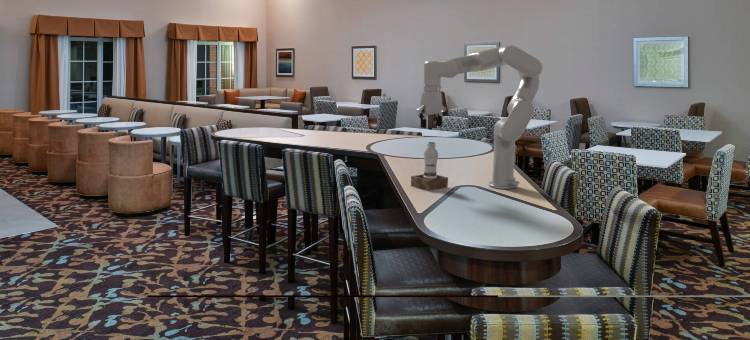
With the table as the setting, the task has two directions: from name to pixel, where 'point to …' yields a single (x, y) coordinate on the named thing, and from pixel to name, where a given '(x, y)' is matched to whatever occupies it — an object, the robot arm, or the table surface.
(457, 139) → the table surface
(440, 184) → the square wooden frame
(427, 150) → the silver rounded threaded piece
